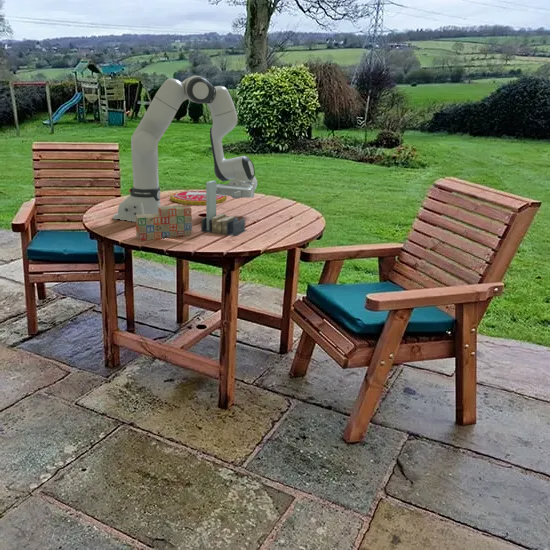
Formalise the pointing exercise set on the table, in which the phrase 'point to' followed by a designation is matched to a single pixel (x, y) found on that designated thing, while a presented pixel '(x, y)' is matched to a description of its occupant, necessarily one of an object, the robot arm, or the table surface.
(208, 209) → the tall panel
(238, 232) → the slot rack
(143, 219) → the stack of blocks
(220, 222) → the offcut
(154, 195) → the robot arm
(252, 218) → the table surface
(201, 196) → the decorative sign
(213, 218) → the offcut
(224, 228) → the offcut
